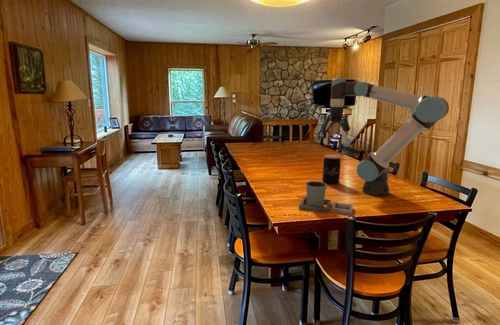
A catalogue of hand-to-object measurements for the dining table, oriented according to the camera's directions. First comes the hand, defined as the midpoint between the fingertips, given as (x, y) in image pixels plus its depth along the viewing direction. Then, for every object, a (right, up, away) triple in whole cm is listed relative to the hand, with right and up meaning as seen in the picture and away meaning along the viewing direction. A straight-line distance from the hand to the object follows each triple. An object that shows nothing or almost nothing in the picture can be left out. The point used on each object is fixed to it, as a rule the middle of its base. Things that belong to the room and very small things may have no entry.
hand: (334, 143), depth 183 cm
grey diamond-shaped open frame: (-4, -35, -28) cm, 45 cm away
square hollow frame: (-16, -34, -22) cm, 43 cm away
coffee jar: (+3, -25, +22) cm, 34 cm away
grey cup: (-16, -34, -22) cm, 43 cm away
